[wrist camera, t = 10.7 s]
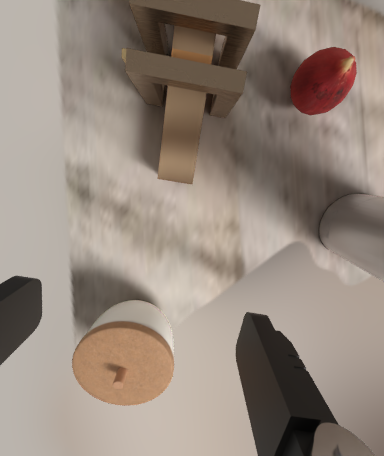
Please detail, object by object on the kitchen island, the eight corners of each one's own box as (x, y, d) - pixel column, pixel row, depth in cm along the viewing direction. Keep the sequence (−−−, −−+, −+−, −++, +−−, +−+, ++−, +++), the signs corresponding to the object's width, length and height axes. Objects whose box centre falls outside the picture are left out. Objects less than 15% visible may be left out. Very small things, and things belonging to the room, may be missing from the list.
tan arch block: (235, 62, 25) (260, 4, 16) (225, 117, 26) (242, 93, 18) (135, 42, 24) (105, -29, 15) (131, 101, 26) (101, 66, 17)
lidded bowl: (131, 360, 37) (108, 437, 26) (85, 309, 34) (38, 373, 23) (191, 328, 35) (192, 397, 25) (148, 271, 32) (128, 322, 22)
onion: (326, 115, 26) (382, 93, 19) (281, 125, 27) (318, 108, 19) (325, 62, 25) (386, 15, 17) (277, 73, 25) (316, 32, 17)
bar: (181, 15, 23) (180, -25, 19) (216, 22, 24) (223, -15, 19) (162, 177, 28) (157, 178, 24) (191, 181, 29) (192, 184, 24)
